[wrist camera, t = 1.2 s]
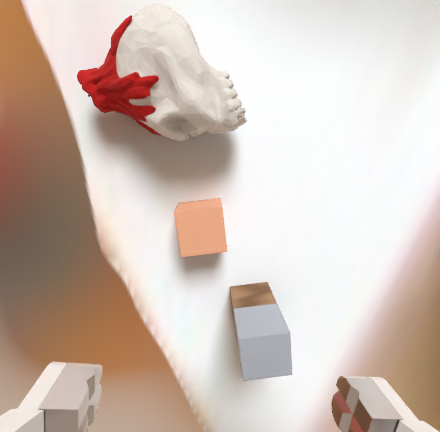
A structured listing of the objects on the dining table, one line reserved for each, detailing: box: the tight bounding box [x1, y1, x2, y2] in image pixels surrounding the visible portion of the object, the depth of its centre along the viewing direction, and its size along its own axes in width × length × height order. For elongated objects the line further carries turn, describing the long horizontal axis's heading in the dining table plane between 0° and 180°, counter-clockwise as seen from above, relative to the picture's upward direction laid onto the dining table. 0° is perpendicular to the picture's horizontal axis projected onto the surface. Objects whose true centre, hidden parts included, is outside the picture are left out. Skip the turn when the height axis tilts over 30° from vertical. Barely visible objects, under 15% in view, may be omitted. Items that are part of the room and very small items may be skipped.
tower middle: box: [234, 304, 292, 381], centre depth 29 cm, size 5×5×5 cm
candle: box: [77, 4, 246, 141], centre depth 25 cm, size 9×11×15 cm
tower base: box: [230, 282, 277, 345], centre depth 34 cm, size 5×5×5 cm
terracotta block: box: [174, 198, 227, 257], centre depth 31 cm, size 5×5×5 cm
